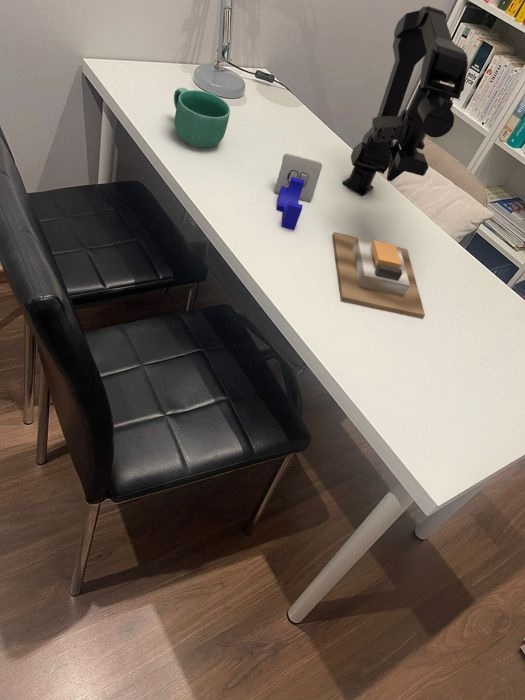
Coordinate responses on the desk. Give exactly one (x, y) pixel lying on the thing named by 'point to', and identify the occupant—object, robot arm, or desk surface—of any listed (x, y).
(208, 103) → the mug
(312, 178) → the electrical switch
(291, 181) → the cable clip
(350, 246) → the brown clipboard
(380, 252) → the orange wedge plank
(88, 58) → the desk surface
